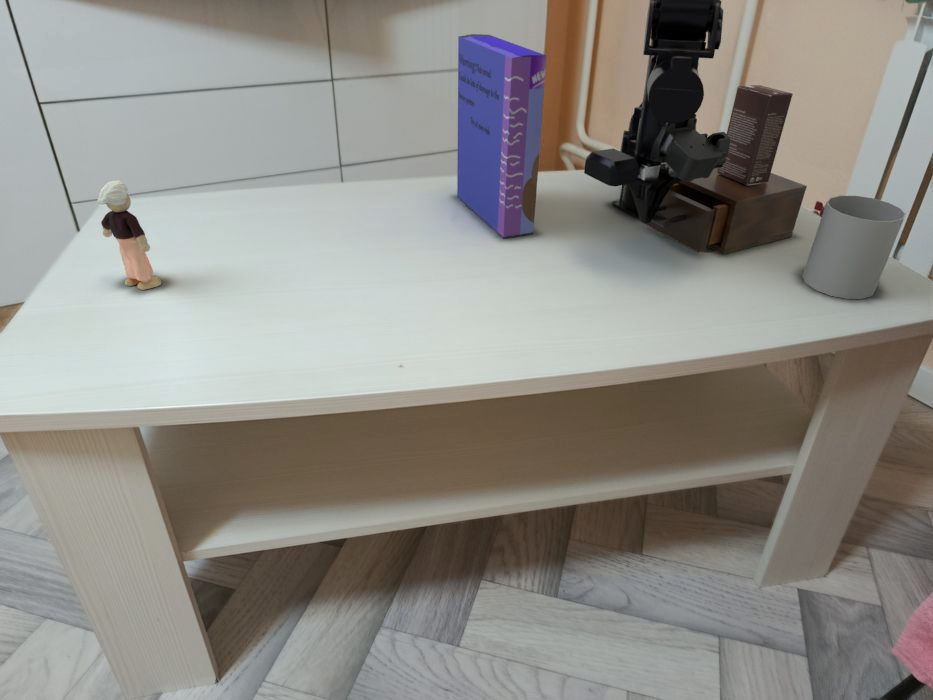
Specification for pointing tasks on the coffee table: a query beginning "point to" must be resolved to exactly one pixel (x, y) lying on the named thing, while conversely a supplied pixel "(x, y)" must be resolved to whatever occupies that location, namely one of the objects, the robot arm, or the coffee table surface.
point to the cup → (852, 246)
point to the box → (755, 133)
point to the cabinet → (753, 209)
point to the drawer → (691, 217)
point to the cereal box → (499, 131)
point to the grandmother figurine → (127, 235)
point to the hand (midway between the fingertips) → (645, 222)
